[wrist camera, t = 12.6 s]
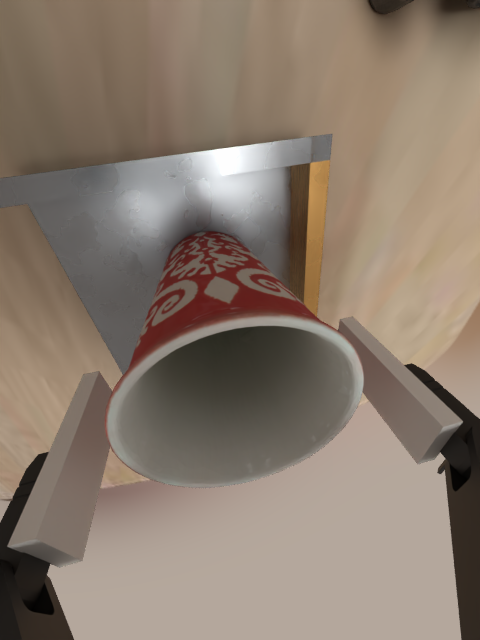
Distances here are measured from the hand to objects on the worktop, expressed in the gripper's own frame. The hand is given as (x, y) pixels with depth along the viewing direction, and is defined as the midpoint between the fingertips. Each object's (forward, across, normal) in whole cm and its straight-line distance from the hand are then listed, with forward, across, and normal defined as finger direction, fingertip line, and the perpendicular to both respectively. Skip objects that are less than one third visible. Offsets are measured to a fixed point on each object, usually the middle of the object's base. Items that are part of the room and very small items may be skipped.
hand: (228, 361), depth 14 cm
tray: (+10, -1, 0) cm, 10 cm away
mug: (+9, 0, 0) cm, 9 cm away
